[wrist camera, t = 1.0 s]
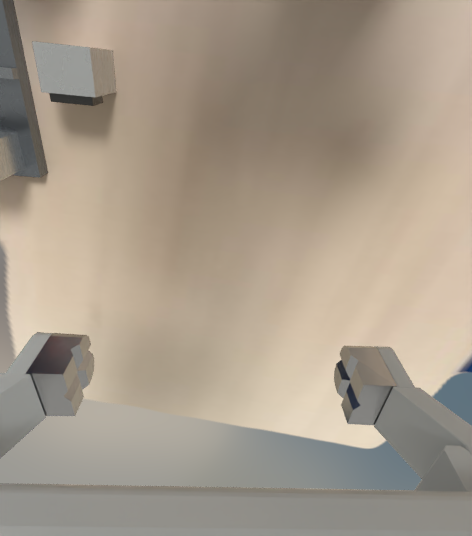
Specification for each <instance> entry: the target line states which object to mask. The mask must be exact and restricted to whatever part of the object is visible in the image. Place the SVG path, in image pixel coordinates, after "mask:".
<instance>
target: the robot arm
mask: <svg viewBox="0 0 472 536" xmlns="http://www.w3.org/2000/svg"><path fill="white" fill-rule="evenodd" d="M90 345H91V343H90V339H89V336H87V335H76V334H61V333H41V332H37V333H36V334H34V335H33V336H32V337H31V338H30V340H29V341H28V343H27V344H26V345H25V347H24V348H23V350H22V351H21V352H20V354H19V355H18V356H17V358H16V359H15V361H14V362H13V363H12V365H11V366H10V367H9V369H8V370H7V372H6V373H0V458H1V457H3V456H4V455H5V454H6V453H7V452H8V451H9V450H10V449H11V448H12V447H14V446H15V445H16V444H17V443H18V442H19V441H20V440H21V439H23V438H24V437H25V436H26V435H27V434H28V433H29V432H30V431H31V430H33V429H34V428H35V427H36V426H37V425H38V424H39V423H40V422H41V421H43V420H44V419H45V418H46V416H75V415H76V413H77V410H78V408H79V406H80V404H81V402H82V399H83V397H84V396H83V392H82V389H84V388H85V387H86V386H88V385H89V383H90V381H91V378H92V375H93V371H94V357H93V354H92V353H91V352H90V351H89V350H88V349H89V347H90ZM340 356H341V359H342V360H341V361H339V362H338V363H337V364H336V367H335V371H334V382H335V387H336V390H337V393H338V394H339V395H340V396H341V397H342V398H344V399H343V401H342V404H341V406H342V408H343V411H344V414H345V417H346V420H347V423H348V424H361V425H375V426H374V427H375V428H376V429H377V430H378V431H379V433H380V434H381V435H382V436H383V437H384V438H385V439H386V440H387V441H388V442H389V443H390V445H391V446H392V447H393V448H394V449H395V450H396V451H397V452H398V453H399V454H400V456H401V457H402V458H403V459H404V460H405V461H406V462H407V463H408V464H409V465H410V466H411V467H412V469H413V470H414V471H415V472H416V473H417V474H418V475H419V476H420V478H421V479H422V480H421V482H420V483H419V485H418V486H417V487H416V489H415V490H414V491H408V490H352V489H295V488H240V487H239V488H237V487H179V486H175V487H174V486H120V485H119V486H118V485H65V484H9V483H0V536H472V426H471V425H469V424H468V423H467V422H465V421H464V420H463V419H461V418H460V417H458V416H457V415H456V414H454V413H453V412H452V411H450V410H449V409H448V408H446V407H445V406H444V405H442V404H441V403H440V402H438V401H437V400H436V399H434V398H433V397H431V396H430V395H429V394H427V393H426V392H425V391H423V390H422V389H421V388H415V387H414V385H413V383H412V381H411V380H410V378H409V376H408V375H407V373H406V371H405V369H404V368H403V366H402V364H401V363H400V361H399V359H398V357H397V356H396V354H395V352H394V350H393V349H392V348H390V347H371V346H343V348H342V349H341V352H340Z"/></svg>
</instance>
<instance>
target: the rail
mask: <svg viewBox="0 0 472 536" xmlns="http://www.w3.org/2000/svg"><path fill="white" fill-rule="evenodd" d="M47 173H48V171H47V166H46V161H45V156H44V151H43V146H42V141H41V136H40V131H39V126H38V121H37V116H36V111H35V107H34V102H33V97H32V92H31V87H30V82H29V77H28V72H27V67H26V62H25V57H24V52H23V47H22V42H21V37H20V32H19V27H18V22H17V17H16V12H15V7H14V2H13V0H0V181H1V180H3V179H5V178H7V177H9V176H11V175H17V176H29V177H42V176H44V175H45V174H47Z"/></svg>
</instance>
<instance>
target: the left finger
mask: <svg viewBox="0 0 472 536" xmlns="http://www.w3.org/2000/svg"><path fill="white" fill-rule="evenodd" d="M32 44H33V50H34V55H35V60H36V66H37V71H38V76H39V82H40V87H41V92H46V93H50V99H51V102H61V103H72V104H82V105H92V106H93V105H97V104H100V103H103V98H102V96H103V95H107V94H111V93H115V92H117V91H116V79H115V67H114V55H113V50H106V49H98V48H90V47H80V46H71V45H62V44H53V43H44V42H34V41H32Z"/></svg>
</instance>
